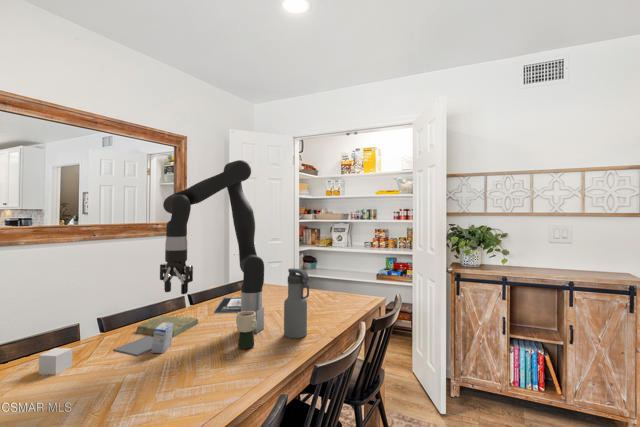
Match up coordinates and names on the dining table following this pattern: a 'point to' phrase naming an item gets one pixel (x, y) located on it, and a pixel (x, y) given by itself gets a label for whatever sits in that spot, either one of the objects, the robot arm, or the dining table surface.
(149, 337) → the mat
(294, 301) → the water bottle
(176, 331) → the folded green cloth
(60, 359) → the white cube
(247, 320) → the character mug
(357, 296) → the dining table surface
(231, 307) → the sketchbook
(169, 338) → the medicine box
